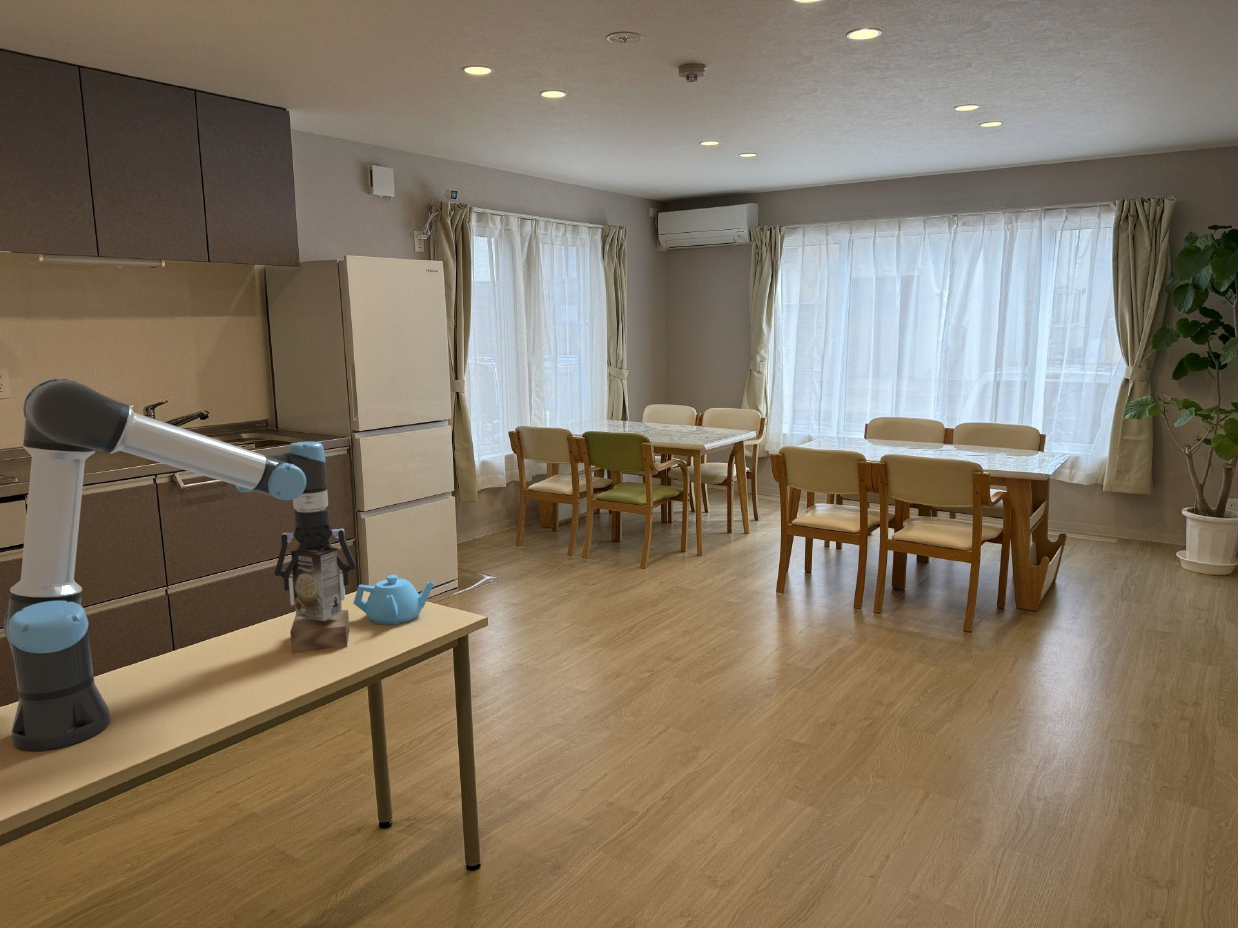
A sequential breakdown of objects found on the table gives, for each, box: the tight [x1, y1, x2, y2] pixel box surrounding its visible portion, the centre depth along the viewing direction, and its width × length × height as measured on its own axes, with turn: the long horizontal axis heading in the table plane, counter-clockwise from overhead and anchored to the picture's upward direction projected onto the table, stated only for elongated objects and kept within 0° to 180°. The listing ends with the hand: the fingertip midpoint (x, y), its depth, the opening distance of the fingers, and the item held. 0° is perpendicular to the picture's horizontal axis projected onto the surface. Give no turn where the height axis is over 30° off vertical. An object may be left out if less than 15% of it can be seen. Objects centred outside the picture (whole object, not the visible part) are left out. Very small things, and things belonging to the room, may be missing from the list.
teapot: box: [352, 573, 435, 626], centre depth 214 cm, size 15×15×11 cm
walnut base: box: [289, 609, 350, 654], centre depth 199 cm, size 12×12×5 cm
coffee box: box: [290, 547, 343, 621], centre depth 197 cm, size 9×6×16 cm
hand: (318, 601), depth 198 cm, fingers closed on coffee box, 10 cm apart
